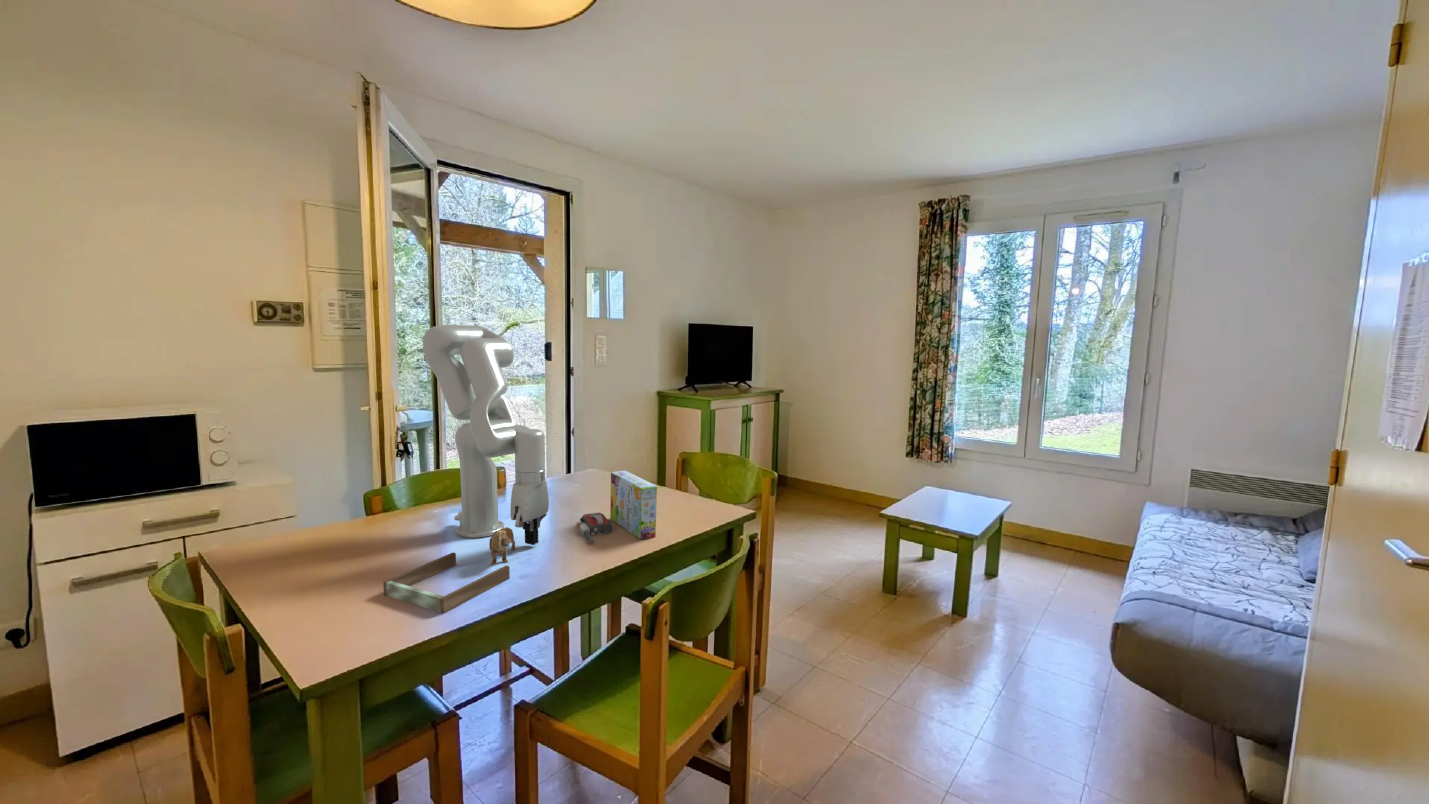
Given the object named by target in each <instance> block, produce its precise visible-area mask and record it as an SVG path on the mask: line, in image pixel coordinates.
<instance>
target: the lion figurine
mask: <svg viewBox="0 0 1429 804" xmlns="http://www.w3.org/2000/svg"><path fill="white" fill-rule="evenodd" d="M514 535H515V534H514V532H513V529H512V528H510V527H509V526H508V527H504V528H503V529H501V530H499V531H496V532H494V534H493V535H491V537H490V538H489V543H488V545H489V550H490V553H491V558H492V561H490V563H491V565H495V564H497V562H498V560H497V555H500V554H502V557H501V561H502V563H504V564H506V563H508V562H509V560H508V559H507V554H508V548H509V546H510V544H511V548H510V550H511V551H514V550H516V549H517V548H516V541H515V539H514Z"/></svg>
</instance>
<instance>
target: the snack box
mask: <svg viewBox="0 0 1429 804" xmlns="http://www.w3.org/2000/svg"><path fill="white" fill-rule="evenodd" d="M657 496H658V486H657V485H656V484H654V483H652V482H650V481H647V480H646V479H643V478H641V477H639V476H637V475H635V474H633V473H631V472H629V471H628V470H619V471H613V472H612V471H611V472H610V515H609V516H610V517H609V518H610V520H612V521H613V522H614V523H616V524H618V525H619V526H621V527H622V528H623V529H624V530H626V531H627V532H629V533H630V534H632V535H633V536H634V537H636V538H637V539H638V540H646V539H651V538H656V533H657V531H656V529H657V503H658V502H657V499H658V497H657Z"/></svg>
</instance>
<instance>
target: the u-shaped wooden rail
mask: <svg viewBox="0 0 1429 804" xmlns="http://www.w3.org/2000/svg"><path fill="white" fill-rule="evenodd" d="M455 566H457V553H456V552H451V553H448V554H446V555H443V556H441V557H438V558H436V559H433V560H431V561H430V562H427V563H424V564H422V565H419V566H417V567H415V568H413V569H410V570H408V571H406V572H402V573H400V574H399V575H396V576H393V577H392V578H389V579H386V580H384V581H383V596H386V597H390V598H393V599H395V600H400V601H402V602H404V603H410V604H413V605H416V606H419V607H422V608H424V609H425V608H426V609H429V610H432V611H435V612H437V613H442V614H446V613H448V612H450V611H451V610H453V609H455V608H457V607H459V606H460V605H463V604H464V603H466V602H468V601H470V600H472V599H474V598H476V597H477V596H480V595H481V594H483V593H485V592H488V591H489V590H491V589H493V588H494V587H496V586H498V585H501V583H505V582H506V581H508V580H510V572H511V571H510V565H504V566H502V567H500V568H497V569H496V570H493V571H491V572H490V573H488V574H486V575H484V576H482V577H480V578H478V579H476V580H474V581H472V582H469V583H468V584H466V585H464V586H462V587H460V588H458V589H456V590H454V591H452V592H450V593H448V594H446V595H442V594H437V593H434V592H431V591H428V590H424V589H421V588H417V587H413V586H412V585H415V584H417V583H419V582H421V581H423V580H426V579H428V578H430V577H433V576H434V575H437V574H439V573H441V572H444V571H446V570H448V569H450V568H453V567H455Z"/></svg>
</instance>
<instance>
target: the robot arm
mask: <svg viewBox="0 0 1429 804" xmlns="http://www.w3.org/2000/svg"><path fill="white" fill-rule="evenodd" d="M422 350H423V354H424V355H423V356H424V358H425V360H426V363H427V364H428V366H429V367H430V370H431V371H432V372H433V374H434V375H435V377H436V380H437V381H438V385H439V386H440V390H441V391H442V395H443V397H444V400H445V402H446V405H447V407H448V410H449V412H450V414H451V416H452V417H453V418H454V419H455V420H458V421H469V422H466V423H464V424H463V425H461V426H460V427H458V429H457V430H456V432H455V436H454V440H455V447H456V450H457V454H458V460H459V472H460V495H461V497H460V498H461V511H459V512H458V513H457V515H454V518H453V519H454V520H455V521H459V525H458V526H457V527H456V535H458V536H460V537H463V538H468V539H469V538H470V539H472V538H474V539H475V538H477V539H478V538H484V537H485V538H486V537H490V536H491V537H492V535H493V534H494V532H496V531H499V530H501V529H503V528H505V523H504V522H503V521H501V520H499V505H498V504H499V503H498V502H499V498H498V497H499V496H498V468H497V466H496V464H495V462H494V461H493V459H492V458H499V457H504V456H507V455H508V456H509V455H513V454H514V473H515V474H514V477H515V478H514V479H515V480H514V481H515V482H514V483H513V484H512V489H511V495H510V496H511V497H510V520H512V521H515V523H514V526H515V528H522V530H523V531H524V543H525V544H527V545H531V546H532V545H533V546H534V545H536V544H538V543H539V528H540V527H541V522H542V519H544V518H545V517H546V516H547V513H548V511H549V508H550V504H549V503H550V501H549V489H548V482H547V479H546V471H547V470H546V442H545V441H546V440H545V439H546V438H545V433H544V431H543V430H541V429H537V428H529V427H527V426H526V425H522V424H517V422H516V419H515V418H514V415H513V413H512V411H511V408H510V405H509V402H508V400H507V398H506V396H505V393H506V392H507V391H508V388H509V387H508V384H507V382H506V379H505V376H504V374H503V371H502V368H503V369H505V368H507V367H509V366H511V365H512V364H513V362H514V360H515V359H514V358H515V354H514V349H513V347H512V345H511V344H510V342H509V341H507V340H506V338H504V337H502V336H500V334H497V333H495V332H493V331H491V330H489V329H488V328H486V327H483V326H480V325H469V324H467V325H466V324H465V325H463V324H461V325H460V324H442V325H441V324H439V325H435V326H433V327H430V328H428V329H427V330H426V332H425V333H424V335H423V339H422ZM455 355H456V356H457V355H458V356H460V358H461V361H462V362H461V361H460V360H459V359H457V358H456V357H455Z"/></svg>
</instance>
